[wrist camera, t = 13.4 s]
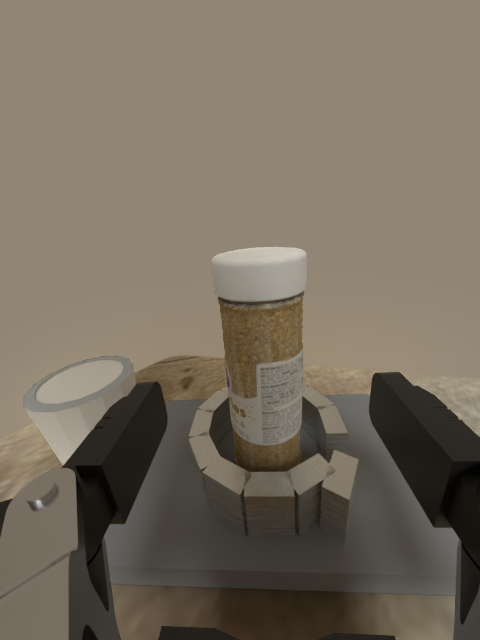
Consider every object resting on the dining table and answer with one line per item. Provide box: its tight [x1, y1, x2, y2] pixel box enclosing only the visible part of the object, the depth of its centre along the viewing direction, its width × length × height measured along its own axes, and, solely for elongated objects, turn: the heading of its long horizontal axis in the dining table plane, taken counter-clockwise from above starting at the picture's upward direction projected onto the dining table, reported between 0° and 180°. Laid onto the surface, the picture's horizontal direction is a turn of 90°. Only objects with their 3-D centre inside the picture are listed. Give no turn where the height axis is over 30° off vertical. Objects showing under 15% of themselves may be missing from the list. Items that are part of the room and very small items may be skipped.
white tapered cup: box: [23, 356, 136, 465], centre depth 19 cm, size 7×7×7 cm
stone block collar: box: [189, 384, 359, 542], centre depth 16 cm, size 9×10×3 cm
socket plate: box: [104, 394, 459, 596], centre depth 17 cm, size 18×12×2 cm, turn 87°
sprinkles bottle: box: [211, 247, 307, 472], centre depth 14 cm, size 5×5×13 cm
